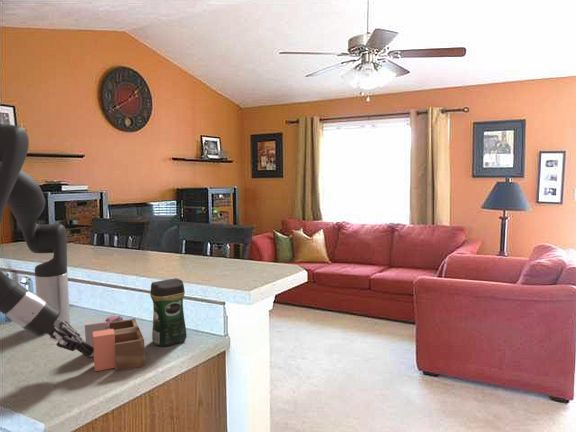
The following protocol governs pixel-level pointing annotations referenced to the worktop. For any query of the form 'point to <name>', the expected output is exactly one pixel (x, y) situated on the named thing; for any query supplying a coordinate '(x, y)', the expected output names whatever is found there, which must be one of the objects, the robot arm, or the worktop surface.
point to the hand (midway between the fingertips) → (91, 352)
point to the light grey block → (91, 327)
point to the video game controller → (112, 320)
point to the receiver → (128, 344)
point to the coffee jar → (168, 312)
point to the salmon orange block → (104, 349)
